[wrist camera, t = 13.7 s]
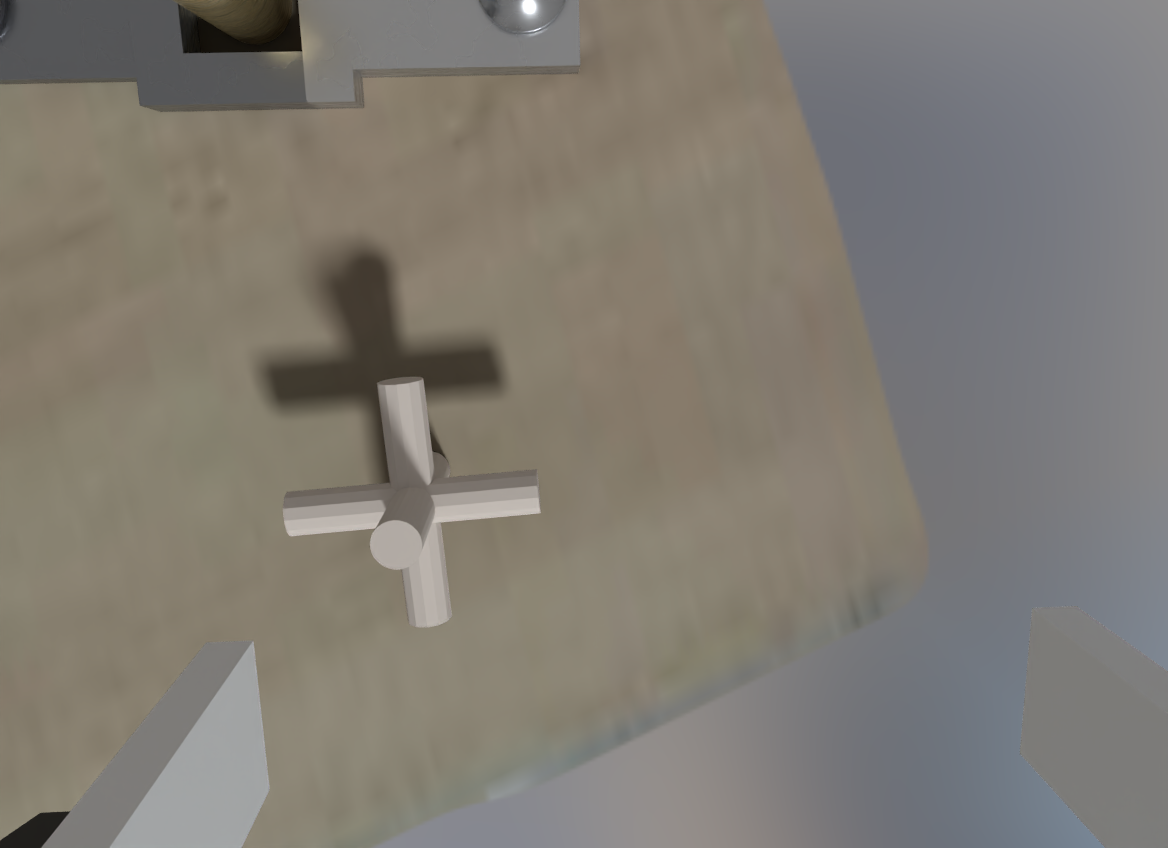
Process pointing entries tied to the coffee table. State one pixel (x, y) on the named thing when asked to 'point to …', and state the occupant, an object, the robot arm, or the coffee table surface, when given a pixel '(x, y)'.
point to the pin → (244, 17)
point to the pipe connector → (412, 503)
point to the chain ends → (282, 79)
